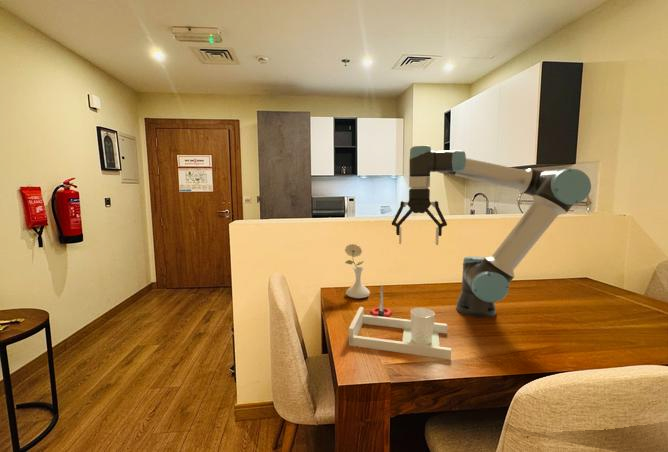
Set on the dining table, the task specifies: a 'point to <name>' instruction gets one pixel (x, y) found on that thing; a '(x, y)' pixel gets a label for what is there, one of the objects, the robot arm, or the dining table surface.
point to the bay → (396, 346)
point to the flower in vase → (357, 288)
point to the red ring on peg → (381, 307)
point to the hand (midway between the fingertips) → (418, 244)
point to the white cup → (422, 325)
